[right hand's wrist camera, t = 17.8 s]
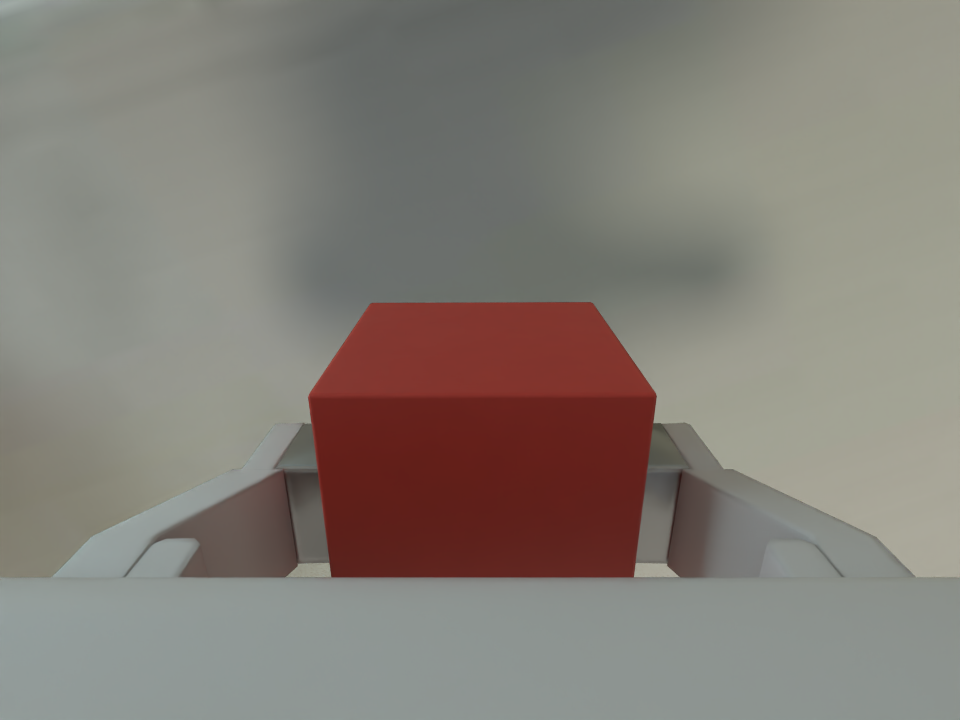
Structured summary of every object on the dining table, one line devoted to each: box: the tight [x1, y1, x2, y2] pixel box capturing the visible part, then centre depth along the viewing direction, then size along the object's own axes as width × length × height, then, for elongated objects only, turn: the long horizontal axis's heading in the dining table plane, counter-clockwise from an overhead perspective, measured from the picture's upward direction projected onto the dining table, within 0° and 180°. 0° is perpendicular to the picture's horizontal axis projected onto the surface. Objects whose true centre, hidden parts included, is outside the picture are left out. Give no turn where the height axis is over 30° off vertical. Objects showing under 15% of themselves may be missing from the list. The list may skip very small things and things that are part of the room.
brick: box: [308, 302, 657, 577], centre depth 10 cm, size 5×4×4 cm
